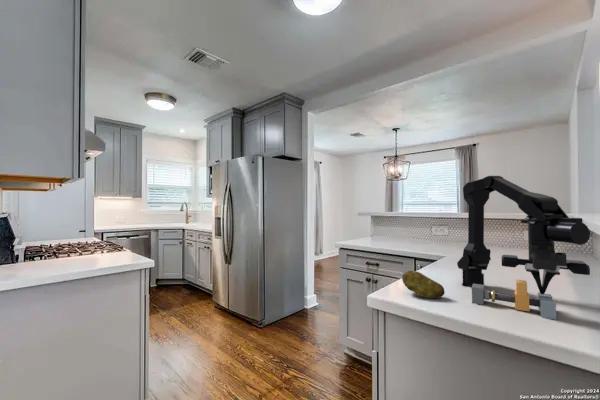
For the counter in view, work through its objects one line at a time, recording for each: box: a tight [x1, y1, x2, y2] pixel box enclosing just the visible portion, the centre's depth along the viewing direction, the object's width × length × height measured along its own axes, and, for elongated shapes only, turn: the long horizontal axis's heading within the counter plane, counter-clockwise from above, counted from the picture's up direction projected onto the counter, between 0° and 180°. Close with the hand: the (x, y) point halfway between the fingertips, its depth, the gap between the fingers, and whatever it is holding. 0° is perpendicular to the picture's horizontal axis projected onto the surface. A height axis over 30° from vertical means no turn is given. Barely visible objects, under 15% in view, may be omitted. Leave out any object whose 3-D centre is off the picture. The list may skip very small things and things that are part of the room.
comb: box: [537, 291, 557, 321], centre depth 79 cm, size 3×9×4 cm, turn 144°
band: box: [490, 290, 496, 303], centre depth 86 cm, size 1×3×3 cm, turn 144°
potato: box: [401, 270, 445, 299], centre depth 95 cm, size 8×13×8 cm, turn 38°
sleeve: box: [514, 278, 531, 312], centre depth 82 cm, size 3×4×8 cm
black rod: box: [489, 291, 540, 308], centre depth 84 cm, size 14×2×2 cm, turn 54°
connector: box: [471, 284, 490, 306], centre depth 88 cm, size 4×5×5 cm
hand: (542, 293), depth 79 cm, fingers closed
